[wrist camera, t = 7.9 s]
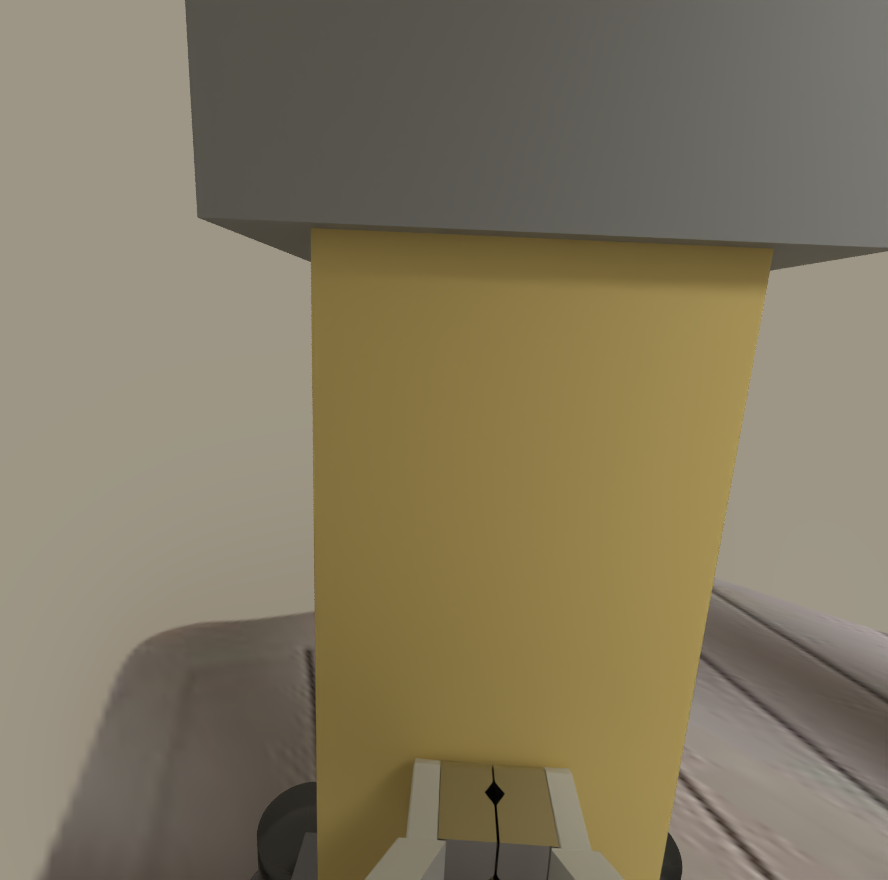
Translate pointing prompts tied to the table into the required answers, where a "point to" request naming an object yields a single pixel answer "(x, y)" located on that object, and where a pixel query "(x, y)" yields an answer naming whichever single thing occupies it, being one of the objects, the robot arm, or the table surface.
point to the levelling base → (295, 839)
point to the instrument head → (529, 352)
